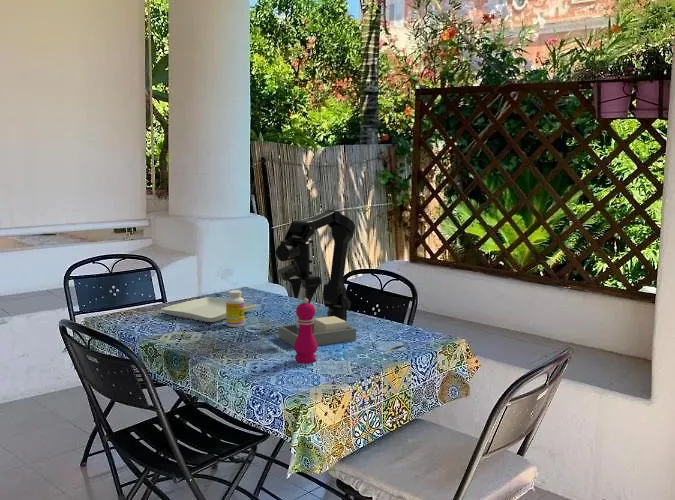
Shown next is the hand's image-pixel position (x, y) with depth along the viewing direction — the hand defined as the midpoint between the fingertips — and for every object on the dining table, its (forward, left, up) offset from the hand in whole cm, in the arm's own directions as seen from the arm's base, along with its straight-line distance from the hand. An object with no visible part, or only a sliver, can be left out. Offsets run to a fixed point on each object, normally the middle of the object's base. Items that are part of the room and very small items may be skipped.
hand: (301, 300), depth 250 cm
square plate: (+19, -45, -13) cm, 51 cm away
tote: (-1, +9, -13) cm, 16 cm away
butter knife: (-15, +31, -13) cm, 37 cm away
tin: (+4, +9, -12) cm, 15 cm away
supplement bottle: (+16, -24, -13) cm, 32 cm away
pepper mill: (+12, +27, -13) cm, 32 cm away
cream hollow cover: (-6, +9, -12) cm, 16 cm away
